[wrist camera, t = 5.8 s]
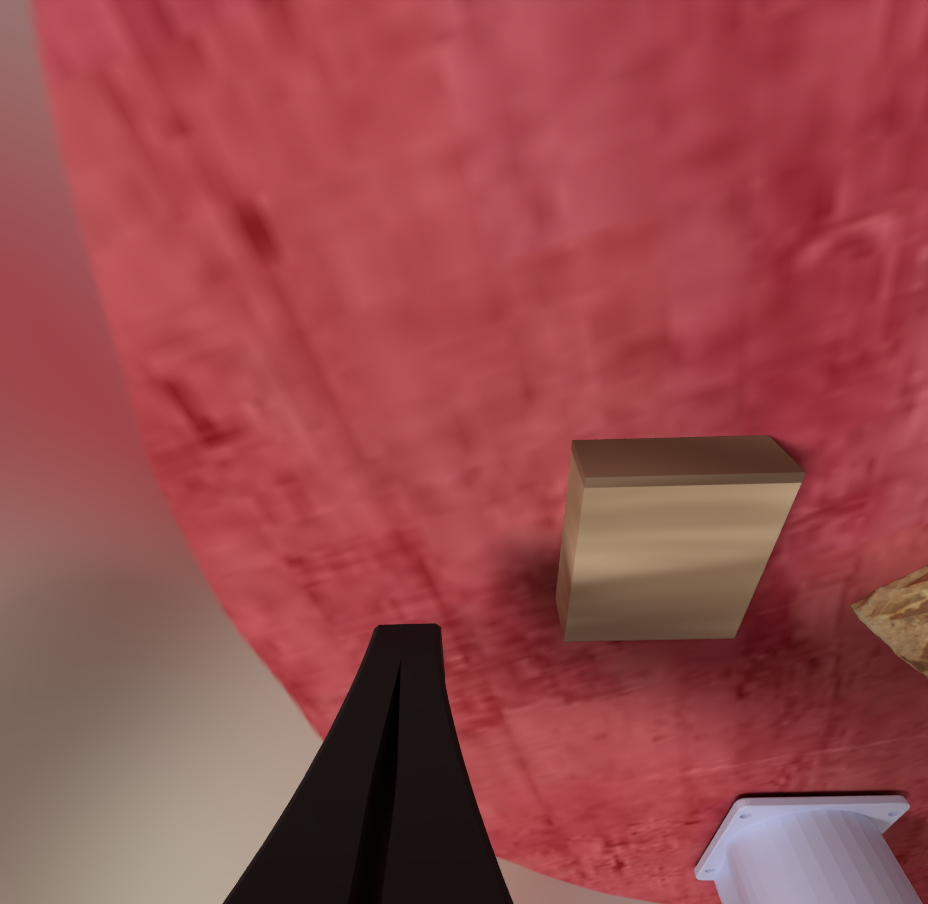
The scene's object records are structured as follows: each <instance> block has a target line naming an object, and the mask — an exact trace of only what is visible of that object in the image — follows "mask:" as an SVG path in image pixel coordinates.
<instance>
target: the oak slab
mask: <svg viewBox="0 0 928 904" xmlns="http://www.w3.org/2000/svg"><path fill="white" fill-rule="evenodd" d="M805 474H806V472H805V471H804V470H803V469H802V468H801V467H800V466H799V465H798V464H797V463H796V462H795V461H794V460H793V459H792V458H791V457H790V456H789V455H788V454H787V453H786V452H785V451H784V450H783V449H782V448H781V447H780V446H779V445H778V444H777V443H776V442H775V441H774V440H773V439H772V438H771V437H770V436H769V435H755V436H717V437H680V438H642V439H604V440H572V448H571V458H570V467H569V476H568V485H567V495H566V504H565V513H564V523H563V532H562V541H561V550H560V560H559V569H558V578H557V588H556V597H555V599H556V604H557V609H558V614H559V619H560V624H561V629H562V634H563V639H564V642H574V641H624V640H675V639H726V638H735V636H736V633H737V631H738V629H739V626H740V624H741V622H742V619H743V617H744V615H745V612H746V610H747V608H748V605H749V603H750V601H751V599H752V596H753V594H754V592H755V589H756V587H757V585H758V582H759V580H760V578H761V575H762V573H763V571H764V568H765V566H766V564H767V562H768V559H769V557H770V555H771V552H772V550H773V548H774V545H775V543H776V541H777V538H778V536H779V534H780V531H781V529H782V527H783V525H784V522H785V520H786V518H787V515H788V513H789V511H790V508H791V506H792V504H793V501H794V499H795V497H796V494H797V492H798V490H799V488H800V485H801V483H802V481H803V478H804V476H805Z"/></svg>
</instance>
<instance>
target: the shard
mask: <svg viewBox="0 0 928 904" xmlns="http://www.w3.org/2000/svg"><path fill="white" fill-rule="evenodd" d="M850 607H851V608H852V609H853V611H854V612H855V613H856V614H857V616H858V618H859V620H860V621H862V622H863V623H864V624H865V625H866V626H867V627H868V628H869V629H870V630H871V631H872V632H873V633H874V634H876V635H877V636H878V637H880V638H881V639H882V640H883V641H884V642H885V643H886V644H887V645H889V646H890V647H891V649H892V650H893V651H894V653H895V654H896V655H897V656H898V657H900V658H901V659H902V660H904V661H906V662H907V663H908V664H909V665H911V666H912V667H913V668H915V669H916V670H917V671H919V672H920V673H923V674H925V675H926V676H927V678H928V565H927V566H925V567H923V568H921V569H918V570H916V571H914V572H912V573H910V574H908V575H907V576H905V577H903V578H901V579H898V580H896V581H894V582H892V583H890V584H888V585H886V586H883V587H880V588H879V589H877V590H875V591H874V592H873V593H872V594H871V595H870V596H868V597H867V598H865V599H863V600H861V601H858V602H856V603H854V604H851V605H850Z"/></svg>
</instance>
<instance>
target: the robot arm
mask: <svg viewBox="0 0 928 904" xmlns="http://www.w3.org/2000/svg"><path fill="white" fill-rule="evenodd" d="M909 808H910V805H909V803H908V802H907V800H906V799H905V797H903V796H901V795H870V796H813V797H757V798H742V799H739V800H737V801H736V802H735V803H734V805H733V806H732V808H731V810H730V811H729V813H728V815H727V816H726V818H725V819H724V821H723V823H722V824H721V826H720V828H719V829H718V831H717V833H716V834H715V836H714V838H713V839H712V841H711V843H710V844H709V846H708V848H707V849H706V851H705V852H704V854H703V856H702V857H701V859H700V861H699V862H698V864H697V866H696V867H695V869H694V872H695V876H696V878H697V879H698V880H714V882H715V885H716V888H717V891H718V894H719V897H720V900H721V903H722V904H923V903H922V901H921V900H920V898H919V896H918V895H917V893H916V891H915V890H914V888H913V886H912V885H911V883H910V881H909V880H908V878H907V876H906V875H905V873H904V871H903V870H902V868H901V866H900V865H899V863H898V861H897V860H896V858H895V856H894V855H893V853H892V851H891V850H890V848H889V846H888V845H887V843H886V841H885V840H884V838H883V836H882V834H883V833H884V832H885V831H886V830H887V829H888V828H889V827H890V826H891V825H892V824H893V823H894V822H895V821H897V820H898V819H899V818H900V817H901V816H902V815H903V814H904V813H905V812H906V811H907V810H908V809H909ZM223 904H513V901H512V899H511V896H510V894H509V891H508V889H507V886H506V884H505V881H504V879H503V876H502V873H501V870H500V868H499V865H498V862H497V859H496V857H495V854H494V851H493V848H492V846H491V843H490V840H489V837H488V834H487V832H486V829H485V826H484V823H483V820H482V817H481V814H480V811H479V808H478V805H477V802H476V799H475V796H474V793H473V790H472V786H471V783H470V780H469V777H468V773H467V770H466V766H465V763H464V760H463V756H462V753H461V749H460V745H459V742H458V738H457V734H456V730H455V726H454V721H453V717H452V713H451V709H450V705H449V700H448V695H447V690H446V684H445V670H444V659H443V647H442V636H441V627H440V626H438V625H437V624H396V625H378V626H377V627H376V628H375V629H374V631H373V634H372V637H371V640H370V643H369V645H368V648H367V651H366V653H365V656H364V658H363V660H362V663H361V665H360V668H359V670H358V672H357V674H356V677H355V679H354V681H353V683H352V685H351V688H350V690H349V692H348V694H347V696H346V698H345V700H344V702H343V704H342V706H341V708H340V710H339V712H338V714H337V716H336V718H335V720H334V722H333V725H332V727H331V729H330V730H329V732H328V734H327V736H326V738H325V740H324V742H323V744H322V745H321V747H320V749H319V751H318V753H317V754H316V756H315V758H314V760H313V762H312V763H311V765H310V767H309V769H308V771H307V772H306V774H305V776H304V778H303V780H302V781H301V783H300V785H299V787H298V788H297V790H296V792H295V793H294V795H293V797H292V798H291V800H290V802H289V803H288V805H287V807H286V808H285V810H284V811H283V813H282V815H281V816H280V818H279V820H278V821H277V823H276V824H275V826H274V827H273V829H272V831H271V832H270V834H269V835H268V837H267V839H266V840H265V842H264V843H263V845H262V846H261V848H260V849H259V851H258V852H257V854H256V855H255V857H254V858H253V860H252V861H251V863H250V864H249V866H248V867H247V869H246V870H245V872H244V873H243V875H242V876H241V877H240V879H239V880H238V882H237V884H236V885H235V887H234V888H233V889H232V891H231V892H230V894H229V895H228V896H227V898H226V899H225V901H224V903H223Z"/></svg>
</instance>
